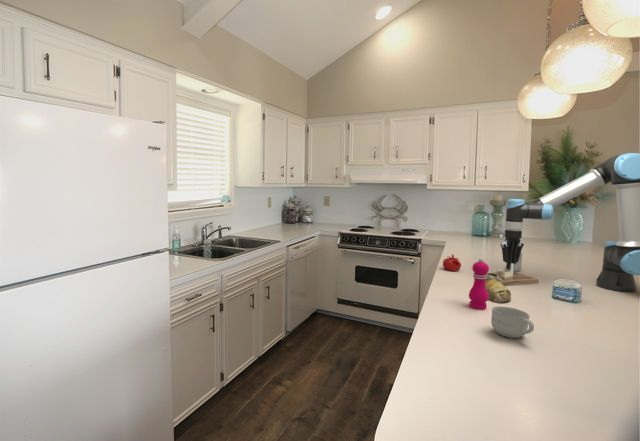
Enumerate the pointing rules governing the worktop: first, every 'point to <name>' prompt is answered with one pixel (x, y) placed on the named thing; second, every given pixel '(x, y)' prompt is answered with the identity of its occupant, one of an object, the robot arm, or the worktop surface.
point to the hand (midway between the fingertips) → (509, 275)
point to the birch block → (504, 275)
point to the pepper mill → (479, 286)
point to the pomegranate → (451, 264)
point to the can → (518, 264)
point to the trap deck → (517, 279)
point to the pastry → (497, 291)
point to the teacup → (511, 321)
